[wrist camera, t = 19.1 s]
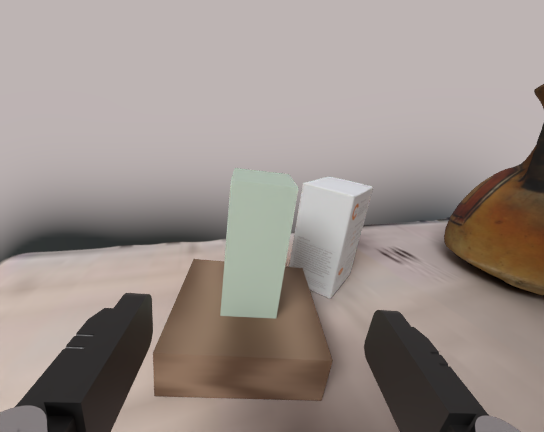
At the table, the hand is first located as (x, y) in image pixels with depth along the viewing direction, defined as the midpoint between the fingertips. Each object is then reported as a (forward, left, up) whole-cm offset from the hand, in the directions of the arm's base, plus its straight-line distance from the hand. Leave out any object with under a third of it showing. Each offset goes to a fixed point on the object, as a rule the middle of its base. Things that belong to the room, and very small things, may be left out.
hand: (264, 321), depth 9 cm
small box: (-10, -23, -12) cm, 28 cm away
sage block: (0, -12, -8) cm, 14 cm away
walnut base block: (0, -12, -12) cm, 17 cm away
